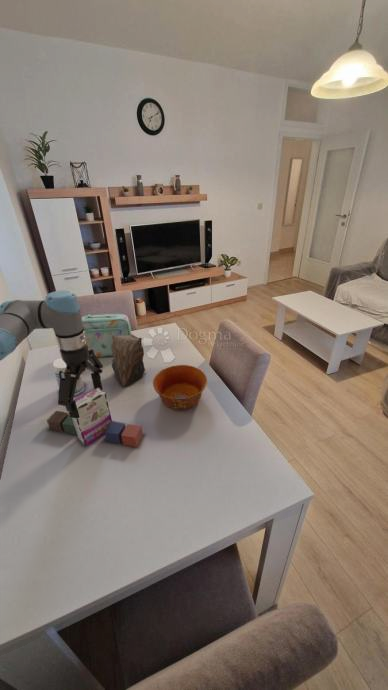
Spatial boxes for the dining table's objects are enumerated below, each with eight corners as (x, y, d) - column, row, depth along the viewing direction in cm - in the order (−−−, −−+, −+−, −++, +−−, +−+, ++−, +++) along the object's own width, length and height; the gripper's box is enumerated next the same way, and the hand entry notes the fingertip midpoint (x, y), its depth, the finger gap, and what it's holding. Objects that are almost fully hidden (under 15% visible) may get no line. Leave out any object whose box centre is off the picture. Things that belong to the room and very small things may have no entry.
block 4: (123, 445, 92) (121, 435, 90) (129, 434, 96) (127, 423, 94) (137, 448, 91) (135, 437, 88) (142, 436, 95) (141, 426, 93)
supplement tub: (58, 399, 112) (48, 369, 105) (63, 384, 120) (55, 356, 113) (83, 396, 114) (75, 366, 106) (86, 382, 122) (79, 354, 114)
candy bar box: (106, 421, 101) (98, 386, 93) (114, 428, 99) (106, 392, 90) (77, 439, 94) (66, 402, 86) (85, 447, 91) (74, 410, 83)
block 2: (65, 433, 96) (61, 423, 94) (73, 423, 101) (70, 413, 98) (77, 436, 95) (74, 426, 93) (86, 425, 100) (83, 415, 97)
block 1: (50, 430, 98) (46, 420, 95) (59, 420, 102) (56, 410, 99) (62, 433, 97) (59, 423, 94) (71, 422, 101) (68, 412, 98)
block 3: (106, 442, 93) (104, 431, 91) (113, 431, 97) (111, 420, 95) (120, 445, 92) (118, 434, 90) (126, 433, 96) (125, 423, 94)
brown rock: (112, 374, 127) (105, 336, 117) (137, 365, 133) (133, 328, 123) (123, 388, 118) (116, 348, 108) (149, 378, 124) (145, 339, 114)
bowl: (157, 422, 101) (155, 401, 96) (152, 386, 119) (150, 367, 114) (212, 414, 105) (213, 393, 100) (199, 380, 123) (200, 361, 118)
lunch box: (78, 361, 136) (68, 322, 126) (81, 350, 145) (72, 313, 134) (133, 355, 141) (128, 317, 130) (133, 345, 150) (128, 308, 139)
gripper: (56, 372, 67) (74, 433, 78) (107, 328, 88) (116, 380, 99) (30, 368, 69) (51, 428, 79) (86, 325, 90) (97, 377, 100)
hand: (87, 402), depth 89 cm, fingers open, 13 cm apart
